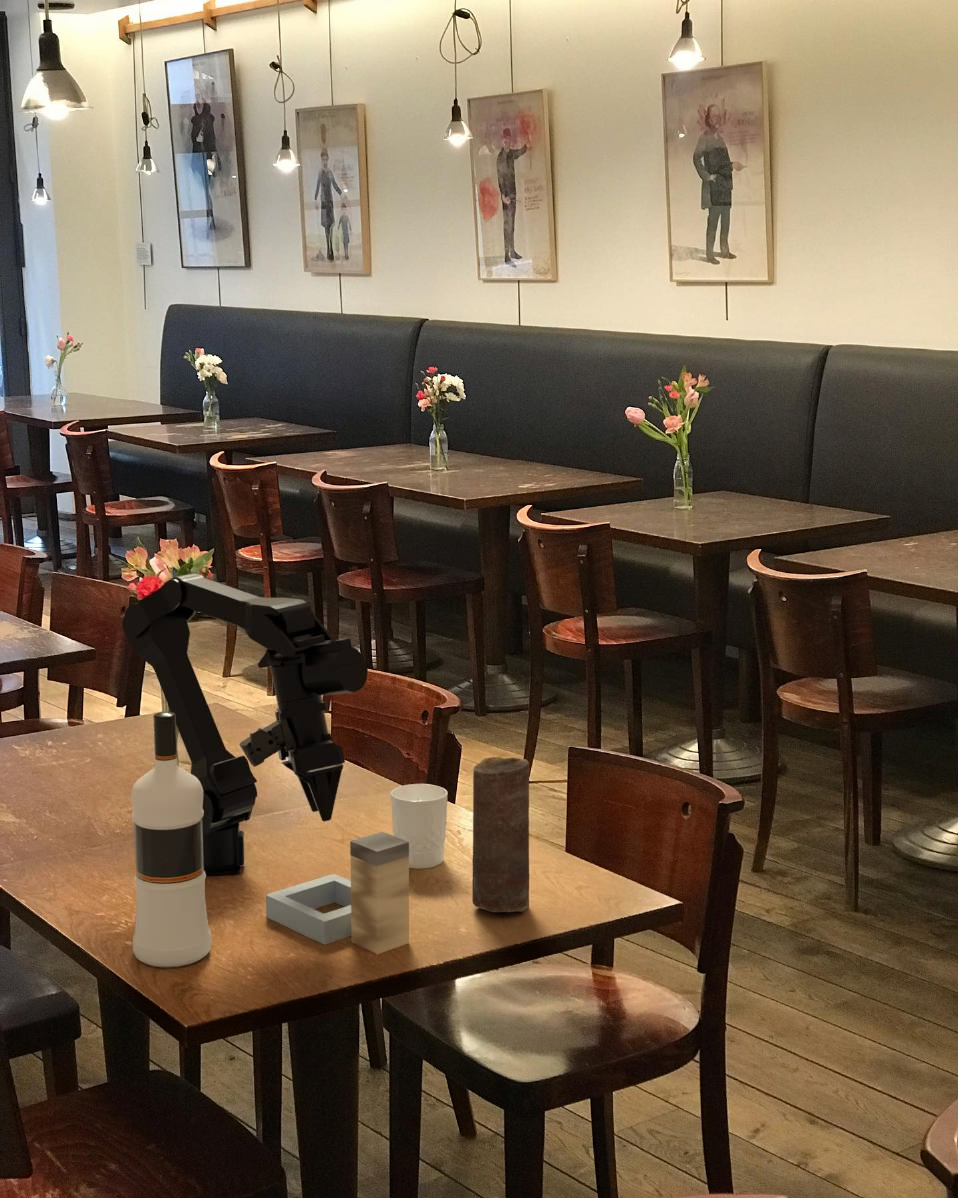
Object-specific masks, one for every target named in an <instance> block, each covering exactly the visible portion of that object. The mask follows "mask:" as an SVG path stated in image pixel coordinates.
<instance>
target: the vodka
mask: <svg viewBox="0 0 958 1198" xmlns="http://www.w3.org/2000/svg"><path fill="white" fill-rule="evenodd" d="M175 717H176V715H175V713H173V712H171V711H160V712H159V711H158V712H156V713H154V714H153V716H152V718H153V732H154V733H153V739H154V741H153V742H154V767H153V768H152V769H150V770H149V771H147V772H146V773H145V774H143V775H142V776H141V777H139V778H138V779H137V780H136V781H135V782H134V784H133V787H132V789H131V792H130V800H131V807H132V813H131V818H132V821H133V828H134V829H133V831H134V832H133V833H134V854H135V855H134V857H135V859H134V860H135V861H134V862H135V876H134V878H133V882H134V885H135V894H136V902H135V903H136V905H135V925H134V934H133V936H132V951H133V954H134V955H135V958H136V959H137V960H138V961H140V962H142V963H144V964H146V965H148V966H151V967H157V968H162V969H163V968H165V969H166V968H167V969H169V968H178V967H185V966H189V965H191V964H194V963H196V962H198V961H200V960H202V959H203V958H205V957H206V956H207V955H208V953H209V952H210V950H211V947H212V933H211V932H212V931H211V929H210V927H209V922H208V914H207V912H208V911H207V905H206V903H207V902H206V894H205V891H206V890H205V887H206V883H205V880H206V878H207V875H206V873H205V871H204V865H203V830H202V817H203V814H204V810H203V809H202V807H203V788H202V785H201V783H200V781H199V780H198V779H197V777H195V776H194V775H192V774H190V773H191V772H189V771H187V770H185V769H184V768H182V767H181V766H179V765H178V754H177V753H178V746H177V745H178V744H177V732H176V731H177V725H176V718H175Z"/></svg>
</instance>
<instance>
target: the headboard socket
mask: <svg viewBox="0 0 958 1198" xmlns="http://www.w3.org/2000/svg"><path fill="white" fill-rule="evenodd" d="M333 903H335V904H338V905H340V906H342V907H341V908H338V909H334V910H331V911H328V912H326V913H323V912H321V911H319V910H316V909H319V908H322V907H325V906H328V905H331V904H333ZM265 917H266V918H267V919H269V920H271V921H274V922H276V923H278V924H280V925H282V926H284V927H286V928H289V929H290V930H293V931H295V932H296V933H299V934H301V935H303V936H305V937H307V938H310V939H311V940H314V941H316V942H318V943H320V944H322V945H324V946H326V945H328V944H332V943H334V942H338V941H340V940H343V939H345V938H349V937H351V879H350V880H349V879H348V878H345V877H343V876H340V875H338V874H335V873H332V874H329V875H325V876H322V877H319V878H316V879H312V880H310V881H305V882H302V883H300V884H296V885H293V886H290V887H286V888H283V889H280V890H277V891H273V892H270V893H267V894H265Z"/></svg>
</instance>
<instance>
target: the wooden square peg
mask: <svg viewBox="0 0 958 1198" xmlns="http://www.w3.org/2000/svg"><path fill="white" fill-rule="evenodd" d="M349 845H350V846H349V849H350V854H349V855H350V881H351V936H350V938H351V943H353V944H354V945H357V946H358V947H361V948H363V949H366V950H367V951H370V952H372V953H373V954H376V955H379V954H382V953H385V952H388V951H391V950H394V949H396V948H399V947H402V946H404V945H407V944H410V905H409V904H410V874H409V873H410V868H409V842H408V841H405V840H403V839H400V838H397V837H395V836H393V835H392V834H390V833H387V832H384V831H380V832H377V833H373V834H370V835H367V836H366V835H365V836H364V837H363V836H362V837H359V838H355V839H354V840H352V839H351V840H349Z"/></svg>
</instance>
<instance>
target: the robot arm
mask: <svg viewBox="0 0 958 1198" xmlns="http://www.w3.org/2000/svg"><path fill="white" fill-rule="evenodd" d="M197 613H199V614H201V615H205V616H208V617H210V618H214V619H217V620H219V621H222V622H225V623H228V624H230V625H233V626H236V627H238V628H240V629H241V630H244V631H245V634H246V635H247V637H248V639H250V640H252V642H255V643H256V644H257V645H260V647H263V648H264V649H266V650H265V653H264V654H263V656H262V658H260V660H259V661H258V663H257V666H258V668H259V669H263V668H270V672H271V676H272V677H271V678H272V682H273V686H274V687H273V689H274V691H275V692H274V694H275V698H276V702H277V708H276V711H275V712H274V714H275V721H274V722H272V723H270V724H268V725H267V726H265V727H263V728H260V727H259V728H257V730H256V731H254V732H251V733H249V736H248V737H247V738H245V739H243V740H241V742H240V743H238V744H239V747H240V748H241V750H242V751H243V753H244V755H240V756H234V754H232V753H231V752H230V751H228V749H227V748H226V746H225V743H224V741H223V739H222V736H221V734H220V731H219V729H218V727H217V724H216V721H215V718H214V716H213V713H212V712H211V710H210V707H209V705H208V702H207V699H206V696H205V695H204V692H203V690H202V687H201V684H200V683H199V680H198V677H197V675H196V672H195V670H194V667H193V666H192V663H191V660H190V658H189V654H188V650H189V645H190V638H191V631H190V630H191V629H190V626H189V623H188V622H189V621H190V620H191V619H192V618H193V617H194V616H195V615H196V614H197ZM121 624H122V625H121V626H122V630H123V633H124V635H125V637H126V639H127V641H128V642H129V644H130V646H131V648H132V650H133V652H134V653H135V654H137V656H138V657H140V658H141V659H142V660H143V661H145V663H147V665H149V666H151V667H152V669H153V671H154V674H155V676H156V679H157V680H158V682H159V685H160V688H161V690H162V693H163V695H164V698H165V701H166V703H167V705H168V707H169V710H170V712H173V713H175V715H176V717H175V718H176V729H177V730H178V732H179V733H178V734H179V735H180V738H181V740H182V743H183V745H184V748H185V750H186V753H187V755H188V757H189V760H190V763H191V768H190V772H189V773H190V774H192V775H194V776H195V777H197V779H198V780H199V781H200V783H201V785H202V788H203V807H202V809H203V810H204V814H203V817H202V830H203V865H204V871H205V873H206V876H213V875H214V876H216V875H239V874H241V868H242V866H244V865H245V859H246V857H245V831H244V830H240V823H243V822H247V821H250V819H251V816H252V812H253V808H254V806H255V804H256V799H257V797H258V789H257V785H256V783H257V782H258V780H257V779H256V778H255V776H254V774H253V773H252V770H251V767H250V765H252V767H257V766H259V765H261V764H263V763H265V760H266V759H268V758H270V757H271V756H273V755H275V754H276V753H277V754H278V758H279V760H280V761H281V763H282V765H283V766H284V767H286V768H287V769H288V770H291V771H292V772H293V774H294V775H295V776H296V777H297V780H298V781H299V783H300V786H301V787H302V791H303V793H304V795H305V797H306V800H307V803H308V806H309V808H310V810H311V812H312V813H316V812H318V814H319V817H320V819H321V821H322V822H330V821H331V820H332V817H333V812H334V808H335V804H336V797H337V793H338V790H339V789H338V788H339V785H340V780H341V776H342V772H343V769H344V763H346V760H345V756H344V749H343V747H342V746H340V745H338V744H337V743H335V742H334V741H333V737H332V734H331V732H329V729H328V725H327V720H326V713H325V711H326V710H327V707H326V702H325V701H323V699H322V696H329V695H330V696H331V695H339V694H347V693H356V692H359V691H360V690H362V689H363V687H364V686H365V684H366V682H367V679H368V672H369V671H368V670H369V669H368V662H367V660H365V658H364V656H363V655H362V653H361V652H360V651H359V650H358V649H357V648H356V647H353V645H352V641H351V638H350V637H346V638H341V639H336V640H335V638H334V637H333V636H332V635H331V633H330V632H329V631H328V629H327V628H326V627H325V626H324V624H323V623H322V622H321V621H320V620H319V619H318V617H317V616H316V615H315V613H314V612H313V611H312V607H311V604H309V603H308V602H307V601H305V600H303V599H300V598H293V597H292V598H289V597H261V596H257V595H254V594H252V593H249V592H246V591H244V590H243V591H242V590H240V589H237V588H234V587H232V586H229V585H226V584H223V583H219V582H216V581H214V580H210V579H208V578H206V577H204V576H203V575H202V574H198V573H188V574H183V575H177V576H173V577H170V579H169V580H167V581H166V582H165V583H163V585H161V587H160V588H158V589H156V590H154V591H153V592H151V593H150V594H148V595H146V596H145V597H143V598H141V599H140V600H138V601H137V602H136V603H131V604H130V605H129V606H127V608H126V610H125V612H124V616H123V617H122V621H121ZM286 758H287V759H286Z"/></svg>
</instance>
